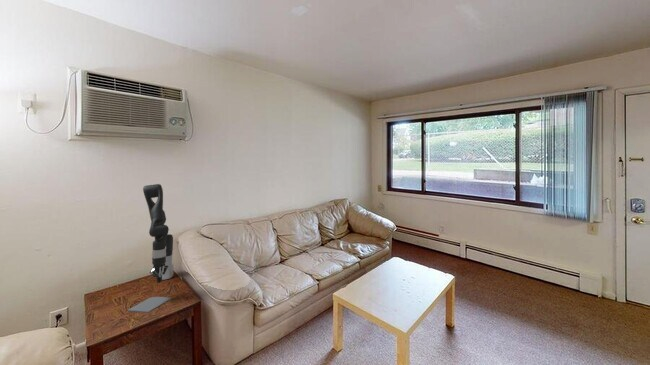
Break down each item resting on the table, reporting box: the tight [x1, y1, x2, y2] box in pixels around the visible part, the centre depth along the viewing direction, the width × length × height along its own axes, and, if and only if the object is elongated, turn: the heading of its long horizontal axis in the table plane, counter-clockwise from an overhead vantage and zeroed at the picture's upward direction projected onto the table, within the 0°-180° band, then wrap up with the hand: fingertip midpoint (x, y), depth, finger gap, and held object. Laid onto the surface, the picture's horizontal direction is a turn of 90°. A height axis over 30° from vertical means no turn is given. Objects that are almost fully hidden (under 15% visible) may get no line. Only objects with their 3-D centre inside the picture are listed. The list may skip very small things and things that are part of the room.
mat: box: [127, 296, 172, 314], centre depth 157 cm, size 18×14×1 cm
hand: (159, 282), depth 164 cm, fingers closed
